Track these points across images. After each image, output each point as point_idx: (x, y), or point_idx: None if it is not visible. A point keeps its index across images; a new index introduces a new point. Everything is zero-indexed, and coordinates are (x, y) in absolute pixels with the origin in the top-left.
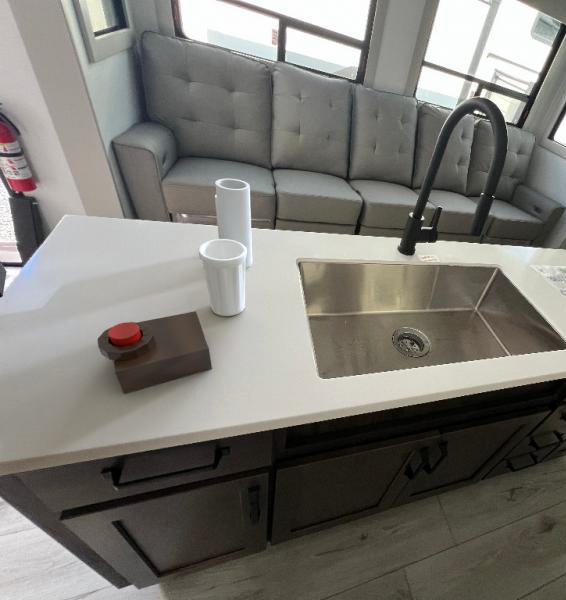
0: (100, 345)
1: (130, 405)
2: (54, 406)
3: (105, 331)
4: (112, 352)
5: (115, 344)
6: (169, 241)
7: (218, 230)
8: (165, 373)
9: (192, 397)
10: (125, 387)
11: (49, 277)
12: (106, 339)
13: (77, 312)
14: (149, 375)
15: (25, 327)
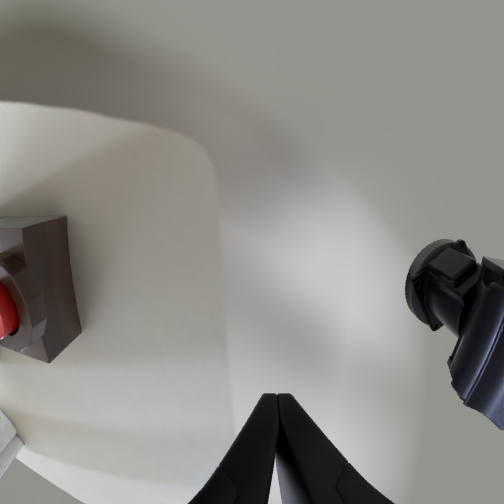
0: (23, 303)
1: (60, 184)
2: (154, 237)
3: (27, 342)
4: (6, 269)
5: (6, 292)
6: (84, 490)
7: (3, 466)
8: (6, 220)
9: (4, 166)
10: (51, 218)
11: None
12: (20, 316)
13: (153, 437)
14: (15, 221)
15: (214, 437)
